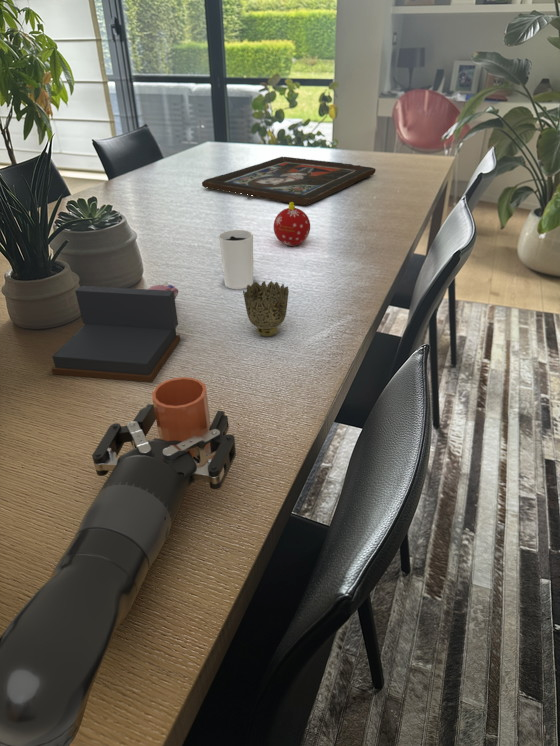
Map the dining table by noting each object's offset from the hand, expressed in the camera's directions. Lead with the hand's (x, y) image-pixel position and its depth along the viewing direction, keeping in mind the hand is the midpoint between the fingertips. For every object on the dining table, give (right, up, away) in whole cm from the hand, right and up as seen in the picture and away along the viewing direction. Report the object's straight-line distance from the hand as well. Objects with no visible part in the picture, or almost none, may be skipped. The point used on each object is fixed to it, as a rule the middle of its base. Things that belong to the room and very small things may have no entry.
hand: (186, 413), depth 65 cm
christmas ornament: (+14, +35, +66) cm, 76 cm away
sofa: (-15, +7, +24) cm, 29 cm away
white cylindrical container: (+3, +23, +47) cm, 53 cm away
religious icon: (+14, +67, +116) cm, 134 cm away
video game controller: (-12, +15, +36) cm, 41 cm away
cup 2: (+9, +11, +29) cm, 32 cm away
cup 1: (0, -6, +2) cm, 6 cm away
